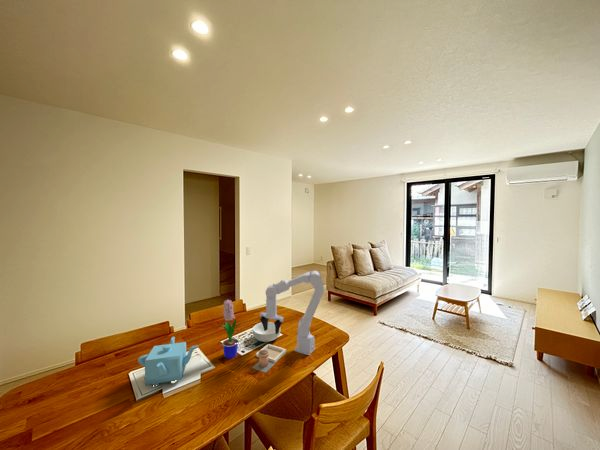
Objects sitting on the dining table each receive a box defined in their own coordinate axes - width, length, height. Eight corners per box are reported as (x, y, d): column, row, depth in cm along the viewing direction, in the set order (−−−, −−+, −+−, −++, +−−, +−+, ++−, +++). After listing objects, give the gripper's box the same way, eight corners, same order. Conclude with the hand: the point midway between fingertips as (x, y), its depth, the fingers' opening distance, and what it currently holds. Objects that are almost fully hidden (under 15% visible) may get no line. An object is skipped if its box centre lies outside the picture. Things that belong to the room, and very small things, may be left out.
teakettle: (134, 383, 104) (134, 350, 103) (175, 360, 120) (174, 332, 120) (159, 399, 94) (159, 363, 94) (199, 372, 111) (199, 341, 110)
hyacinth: (237, 361, 119) (236, 303, 118) (218, 359, 121) (218, 301, 120) (244, 352, 128) (244, 297, 127) (227, 350, 130) (226, 296, 129)
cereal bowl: (278, 346, 133) (278, 334, 133) (249, 346, 134) (249, 334, 133) (281, 332, 150) (281, 321, 150) (255, 332, 151) (255, 321, 150)
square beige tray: (286, 352, 127) (286, 349, 127) (274, 363, 118) (274, 360, 118) (268, 346, 133) (268, 343, 133) (255, 357, 123) (255, 353, 123)
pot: (270, 361, 118) (270, 349, 118) (267, 368, 113) (267, 355, 113) (260, 360, 119) (260, 348, 119) (256, 367, 114) (256, 354, 114)
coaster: (275, 364, 117) (275, 363, 117) (265, 373, 110) (265, 372, 110) (262, 359, 121) (262, 358, 121) (252, 368, 114) (252, 367, 114)
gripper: (286, 307, 130) (286, 331, 131) (265, 303, 137) (265, 325, 137) (279, 311, 124) (279, 337, 124) (257, 307, 131) (257, 331, 131)
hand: (271, 331), depth 130 cm, fingers open, 7 cm apart
